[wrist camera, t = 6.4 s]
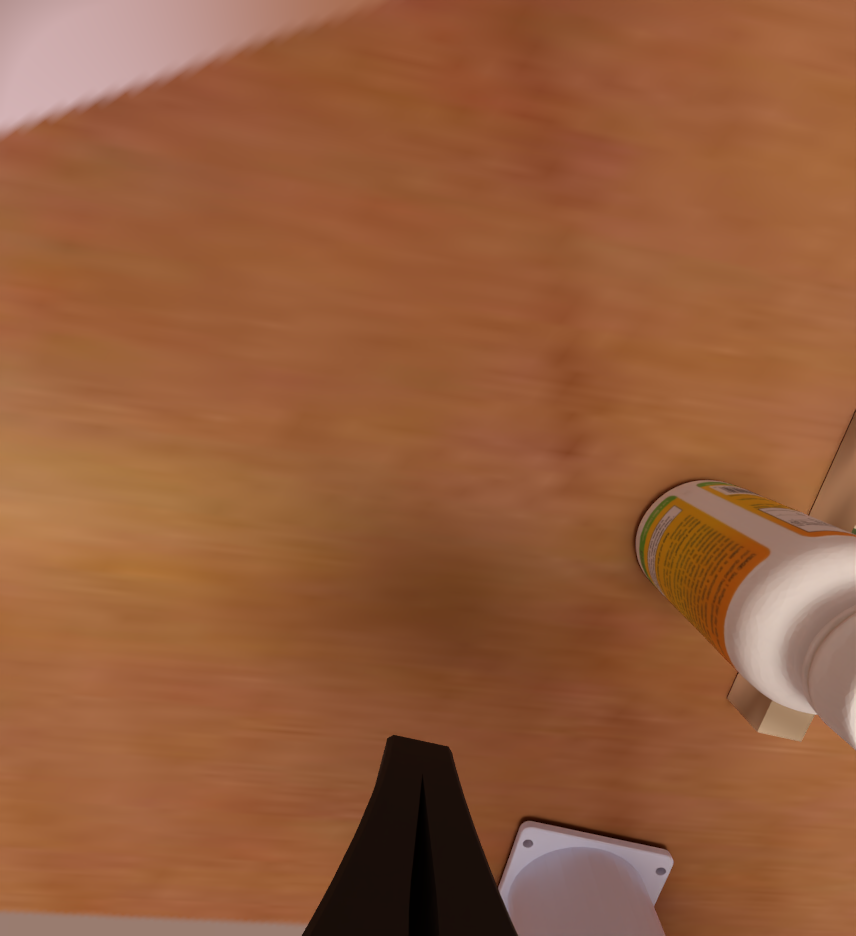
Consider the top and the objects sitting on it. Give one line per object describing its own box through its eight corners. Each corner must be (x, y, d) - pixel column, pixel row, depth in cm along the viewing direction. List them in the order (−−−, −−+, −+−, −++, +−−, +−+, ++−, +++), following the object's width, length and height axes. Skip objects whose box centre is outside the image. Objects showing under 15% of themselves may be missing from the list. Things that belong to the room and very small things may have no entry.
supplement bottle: (656, 611, 20) (849, 833, 11) (613, 509, 19) (786, 655, 9) (774, 564, 19) (1095, 757, 10) (737, 456, 18) (1056, 556, 9)
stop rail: (767, 707, 21) (807, 747, 19) (726, 698, 21) (761, 737, 19) (903, 420, 18) (970, 428, 16) (856, 409, 18) (916, 414, 16)
